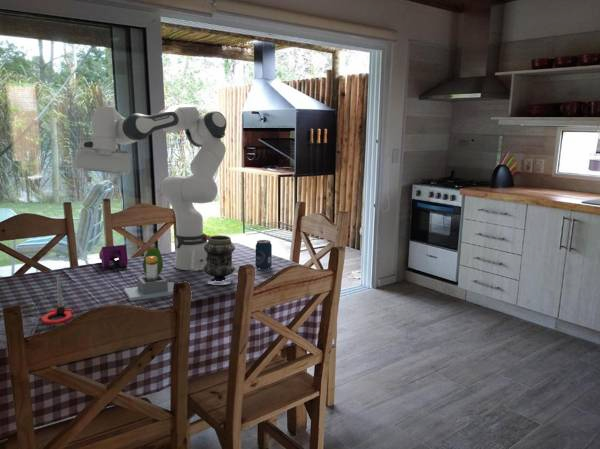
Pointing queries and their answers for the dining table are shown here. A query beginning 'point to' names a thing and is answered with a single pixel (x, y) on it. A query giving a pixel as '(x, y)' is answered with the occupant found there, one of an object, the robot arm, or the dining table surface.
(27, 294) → the dining table surface
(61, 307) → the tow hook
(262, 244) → the soda can
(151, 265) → the white gold-topped cylinder
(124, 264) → the mounting bracket
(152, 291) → the grey box on plate
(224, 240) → the ornate stone vase
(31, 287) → the dining table surface
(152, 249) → the avocado
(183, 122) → the robot arm
